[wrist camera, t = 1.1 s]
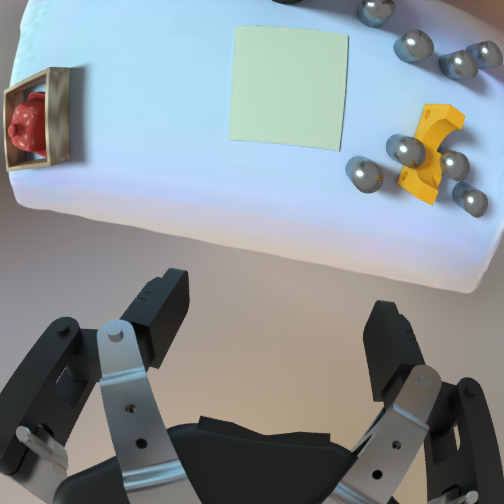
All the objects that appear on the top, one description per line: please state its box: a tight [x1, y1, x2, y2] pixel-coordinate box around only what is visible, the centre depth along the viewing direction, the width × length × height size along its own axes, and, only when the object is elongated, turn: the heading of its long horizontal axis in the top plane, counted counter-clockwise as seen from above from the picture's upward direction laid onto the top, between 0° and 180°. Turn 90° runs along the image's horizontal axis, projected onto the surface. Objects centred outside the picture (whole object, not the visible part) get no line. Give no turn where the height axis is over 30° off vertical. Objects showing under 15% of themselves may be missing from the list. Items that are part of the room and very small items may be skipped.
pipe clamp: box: [397, 104, 465, 206], centre depth 26 cm, size 12×4×6 cm, turn 164°
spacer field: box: [346, 0, 503, 218], centre depth 24 cm, size 26×21×5 cm
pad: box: [229, 26, 348, 151], centre depth 29 cm, size 16×14×1 cm
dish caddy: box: [3, 67, 70, 172], centre depth 32 cm, size 17×16×5 cm
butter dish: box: [8, 92, 47, 158], centre depth 31 cm, size 12×12×8 cm
